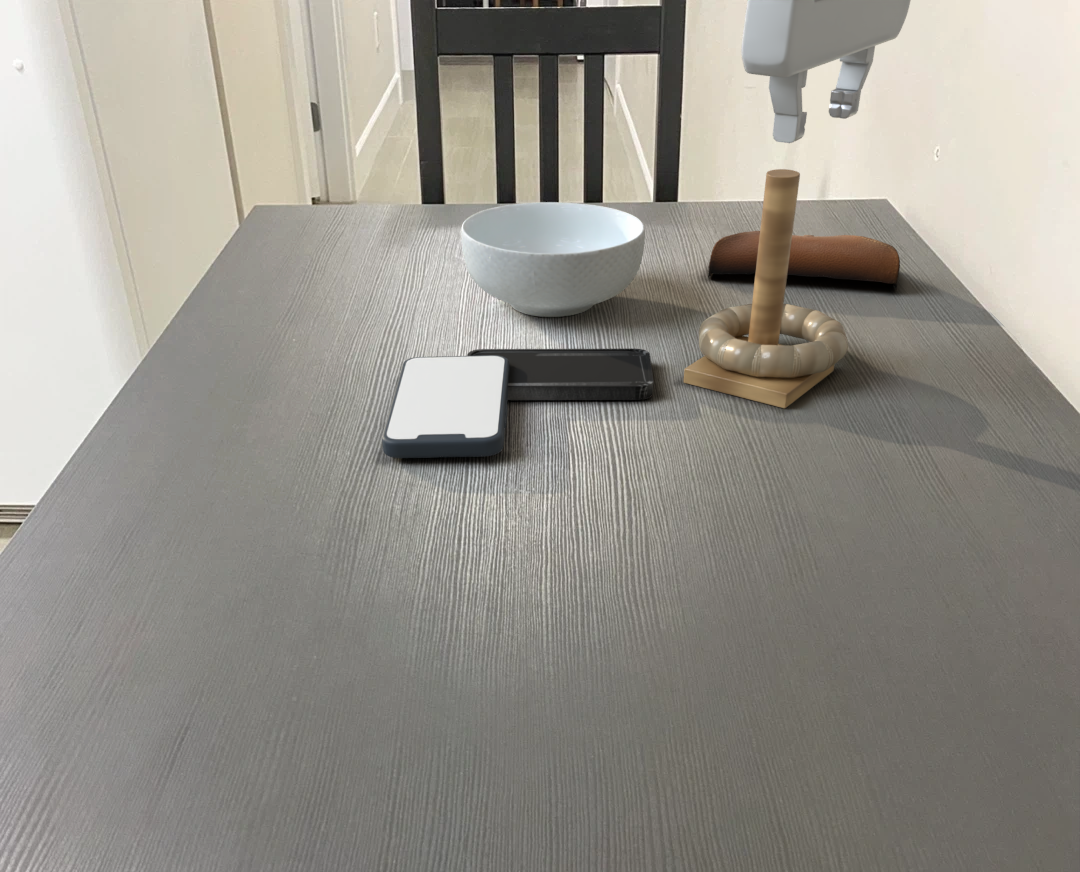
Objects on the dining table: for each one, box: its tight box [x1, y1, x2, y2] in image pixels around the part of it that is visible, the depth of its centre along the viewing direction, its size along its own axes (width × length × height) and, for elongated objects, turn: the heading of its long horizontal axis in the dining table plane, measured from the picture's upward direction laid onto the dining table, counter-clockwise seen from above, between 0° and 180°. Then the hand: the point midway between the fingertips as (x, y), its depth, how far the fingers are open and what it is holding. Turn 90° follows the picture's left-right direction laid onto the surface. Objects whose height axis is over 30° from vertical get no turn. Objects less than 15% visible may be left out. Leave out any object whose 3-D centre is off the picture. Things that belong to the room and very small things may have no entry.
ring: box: [698, 303, 849, 378], centre depth 88 cm, size 12×12×2 cm
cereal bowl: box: [460, 201, 646, 318], centre depth 100 cm, size 17×17×7 cm
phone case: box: [381, 355, 509, 459], centre depth 83 cm, size 9×2×16 cm
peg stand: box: [683, 168, 836, 409], centre depth 84 cm, size 9×9×15 cm
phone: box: [466, 348, 654, 401], centre depth 88 cm, size 8×1×15 cm
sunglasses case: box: [707, 230, 901, 291], centre depth 106 cm, size 18×7×7 cm
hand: (816, 128), depth 80 cm, fingers open, 8 cm apart
